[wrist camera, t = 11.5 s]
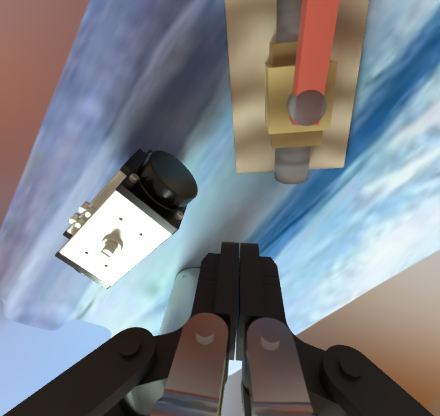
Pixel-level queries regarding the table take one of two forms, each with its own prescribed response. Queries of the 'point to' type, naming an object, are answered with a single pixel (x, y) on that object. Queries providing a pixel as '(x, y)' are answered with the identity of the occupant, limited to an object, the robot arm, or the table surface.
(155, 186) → the ball valve
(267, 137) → the valve fixture
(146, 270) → the table surface
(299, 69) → the lever
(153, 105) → the table surface
